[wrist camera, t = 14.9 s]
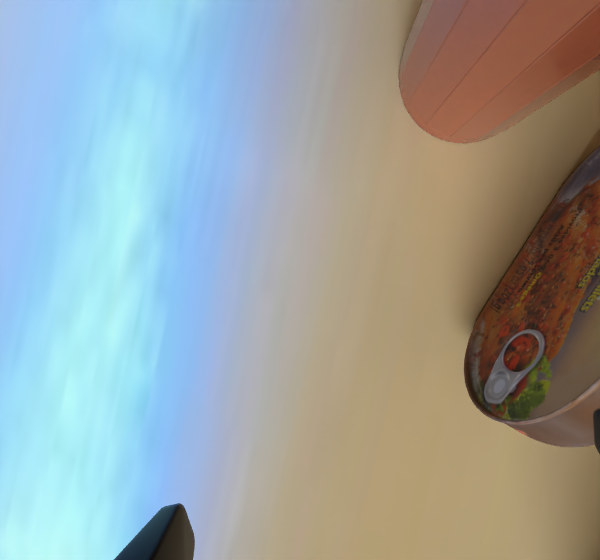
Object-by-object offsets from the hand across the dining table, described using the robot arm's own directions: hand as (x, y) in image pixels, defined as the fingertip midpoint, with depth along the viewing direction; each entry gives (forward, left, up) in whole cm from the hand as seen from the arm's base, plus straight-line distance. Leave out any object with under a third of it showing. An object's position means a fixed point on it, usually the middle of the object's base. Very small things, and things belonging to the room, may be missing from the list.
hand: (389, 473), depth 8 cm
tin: (+1, -11, -13) cm, 17 cm away
